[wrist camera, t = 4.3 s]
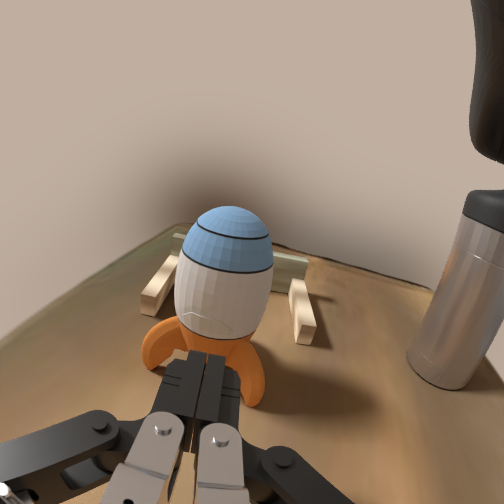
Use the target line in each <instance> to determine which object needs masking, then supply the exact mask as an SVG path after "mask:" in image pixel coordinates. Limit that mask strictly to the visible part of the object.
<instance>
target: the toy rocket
mask: <svg viewBox="0 0 504 504" xmlns="http://www.w3.org/2000/svg"><path fill="white" fill-rule="evenodd" d="M273 266H274V260H273V249H272V243H271V239H270V236H269V231H268V229H267V228H266V227H265V225H264V224H263V222H262V221H261V220H260V219H259V218H258V217H257V216H255V215H254V214H253V213H251V212H250V211H248V210H245V209H243V208H240V207H235V206H223V207H218V208H215V209H212V210H210V211H208V212H206V213H204V214H203V215H202V216H201V217H199V218H198V220H197V222H196V223H195V224H194V225H193V226H192V228H191V229H190V231H189V233H188V234H187V236H186V238H185V240H184V243H183V246H182V248H181V252H180V255H179V259H178V264H177V269H176V277H175V288H174V299H175V309H176V314H177V316H175V317H171V318H168V319H166V320H163V321H162V322H160V323H158V324H157V325H155V326H154V327H153V328H152V329H151V330H150V331H149V332H148V334H147V335H146V337H145V339H144V341H143V344H142V359H143V362H144V364H145V366H146V368H147V369H149V370H152V369H154V368H155V367H157V366H158V365H159V364H161V363H162V362H163V361H165V360H166V359H167V358H169V357H170V356H171V355H172V353H173V350H174V349H181V350H182V351H184V352H185V351H188V352H189V351H190V349H191V350H195V351H200V352H205V353H207V358H206V364H207V359H208V354H209V353H210V354H215V355H220V356H226V360H225V366H229V367H231V368H232V369H233V370H235V371H237V373H238V375H239V377H240V379H241V389H240V391H241V393H242V395H243V398H244V400H245V402H246V405H247V406H250V407H254V406H256V405H257V404H258V403H259V402H260V401H261V398H262V396H263V394H264V390H265V376H264V370H263V367H262V364H261V361H260V359H259V357H258V355H257V353H256V351H255V349H254V348H253V346H252V345H251V343H250V342H249V340H250V338H251V337H252V335H253V334H254V332H255V330H256V328H257V327H258V325H259V323H260V321H261V319H262V316H263V314H264V311H265V308H266V305H267V302H268V298H269V295H270V290H271V285H272V278H273ZM205 368H206V365H205Z"/></svg>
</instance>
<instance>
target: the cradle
mask: <svg viewBox="0 0 504 504" xmlns="http://www.w3.org/2000/svg"><path fill="white" fill-rule="evenodd" d="M186 236H187V235H182V234H177V233H175V234H174V235H173V236H172V244H171V254H170V256H169V257H168V259H167V260H166V261H165V263H164V264H163V265H162V266H161V268H160V269H159V270H158V272H157V273H156V274H155V276H154V277H153V278H152V280H151V281H150V282H149V284H148V285H147V286H146V288H145V289H144V290H143V292H142V293H141V314H145V315H150V316H154V317H155V315H156V314H157V312H158V310H159V308H160V307H161V305H162V303H163V301H164V300H165V298H166V296H167V295H168V293H169V291H170V289H171V288H172V286H173V284H174V283H175V277H176V269H177V264H178V259H179V255H180V252H181V248H182V246H183V243H184V240H185V238H186ZM273 260H274V266H273V278H272V285H271V290H270V291H276V292H282V293H288V296H289V302H290V309H291V315H292V321H293V328H294V334H295V341H296V343H299V344H306V345H310V344H311V342H312V339H313V336H314V333H315V330H316V327H317V326H316V322H315V318H314V315H313V311H312V308H311V304H310V300H309V297H308V293H307V290H306V286H305V283H304V277H305V274H306V270H307V266H308V263H309V262H308V260H307V258H304V257H299V256H294V255H289V254H283V253H278V252H273Z"/></svg>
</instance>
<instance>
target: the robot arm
mask: <svg viewBox="0 0 504 504" xmlns="http://www.w3.org/2000/svg"><path fill="white" fill-rule="evenodd" d="M471 5H472V12H473V19H474V26H475V38H476V64H475V74H474V83H473V90H472V98H471V104H470V114H469V129H470V136H471V141H472V143H473V145H474V147H475V149H476V150H477V151H478V152H479V153H481V154H482V155H484V156H485V157H487V158H489V159H491V160H494V161H497V162H499V163H502V164H504V0H471ZM462 213H463V214H462V216H461V219H460V222H459V226H458V229H457V232H456V236H455V239H454V242H453V245H452V248H451V251H450V254H449V257H448V260H447V262H446V265H445V268H444V271H443V273H442V276H441V279H440V281H439V284H438V286H437V289H436V291H435V294H434V296H433V298H432V301H431V303H430V305H429V308H428V310H427V312H426V315H425V317H424V319H423V321H422V323H421V325H420V327H419V329H418V332H417V334H416V336H415V338H414V340H413V342H412V344H411V346H410V348H409V350H408V352H407V357H408V360H409V363H410V364H411V366H412V368H413V369H414V370H415V371H416V372H417V373H418V374H419V375H420V376H421V377H422V378H424V379H425V380H427V381H428V382H430V383H432V384H434V385H436V386H438V387H441V388H445V389H452V390H456V389H461V388H463V387H465V386H466V384H467V383H468V382H469V380H470V379H471V377H472V375H473V374H474V372H475V371H476V369H477V367H478V366H479V364H480V362H481V361H482V359H483V358H484V356H485V354H486V352H487V350H488V349H489V347H490V345H491V343H492V341H493V340H494V337H495V336H496V334H497V331H498V330H499V328H500V326H501V324H502V322H503V320H504V190H474V191H471V192H470V193H469V194H468V196H467V198H466V201H465V204H464V208H463V212H462ZM206 358H207V353H205V352H200V351H195V350H191V349H190V351H189V354H188V357H187V361H184V360H180V359H174V360H173V361H172V362H171V363H170V364H168V365H167V368H166V371H165V373H164V376H163V379H162V382H161V384H160V387H159V390H158V393H157V396H156V398H155V401H154V404H153V407H152V410H151V412H150V413H149V414H148V415H147V416H146V417H144V418H142V419H140V420H135V421H117V419H116V418H115V417H114V416H113V415H112V414H110V413H108V412H106V411H102V410H93V411H89V412H87V413H84V414H82V415H79V416H77V417H74V418H72V419H69V420H66V421H64V422H61V423H59V424H56V425H53V426H50V427H48V428H45V429H42V430H39V431H36V432H34V433H31V434H28V435H25V436H22V437H19V438H16V439H13V440H10V441H7V442H3V443H0V504H59V503H62V502H64V501H67V500H69V499H71V498H74V497H76V496H78V495H81V494H83V493H85V492H87V491H89V490H92V489H94V488H96V487H98V486H100V485H102V484H104V483H106V482H108V481H109V484H108V486H107V488H106V490H105V492H104V494H103V497H102V499H101V501H100V503H99V504H170V501H171V498H172V495H173V491H174V488H175V485H176V482H177V478H178V475H179V472H180V468H181V460H182V455H183V451H184V452H189V449H190V444H191V439H192V446H191V453H194V454H195V459H194V470H195V472H194V487H193V504H250V503H251V504H355V503H353V502H352V501H351V500H350V499H348V498H347V497H346V496H345V495H344V494H342V493H341V492H340V491H339V490H338V489H337V488H335V487H334V486H333V485H332V484H331V483H330V482H328V481H327V480H326V479H325V478H324V477H323V476H322V475H321V474H319V473H318V472H317V471H316V470H315V469H314V468H313V467H312V466H311V465H310V464H308V463H307V462H306V461H305V460H304V459H303V458H302V457H301V456H300V455H299V454H298V453H297V452H295V451H294V450H292V449H291V448H288V447H285V446H274V447H271V448H268V449H267V450H263V449H260V448H258V447H255V446H253V445H251V444H249V443H247V442H246V441H245V440H244V439H243V438H242V437H241V435H240V433H239V430H238V421H239V405H240V389H241V379H240V377H239V375H238V373H237V371H235V370H230V369H224V368H225V360H226V356H220V355H215V354H210V353H209V354H208V359H207V364H206ZM205 365H206V368H205ZM204 371H205V373H204ZM193 429H194V431H193ZM192 434H193V438H192Z"/></svg>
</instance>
